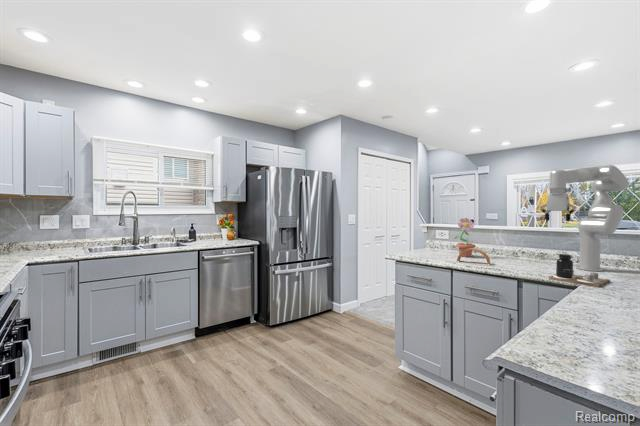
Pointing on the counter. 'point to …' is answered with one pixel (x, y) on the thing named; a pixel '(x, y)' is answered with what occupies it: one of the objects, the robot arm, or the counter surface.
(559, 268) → the supplement bottle
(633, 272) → the counter surface
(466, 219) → the decorative flower
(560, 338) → the counter surface
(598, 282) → the board
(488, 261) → the arch
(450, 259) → the counter surface
